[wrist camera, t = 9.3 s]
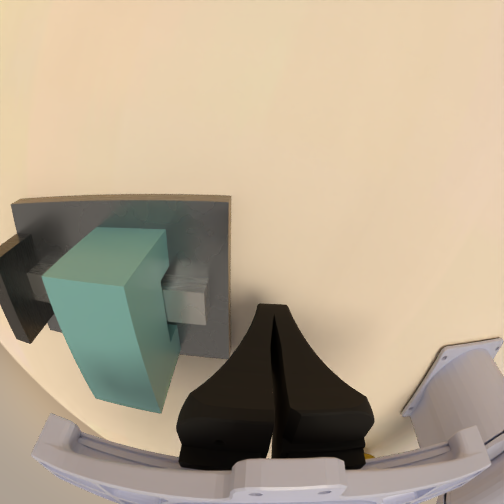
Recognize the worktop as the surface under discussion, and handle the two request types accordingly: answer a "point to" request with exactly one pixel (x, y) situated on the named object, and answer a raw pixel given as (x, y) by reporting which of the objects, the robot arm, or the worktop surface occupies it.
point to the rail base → (126, 216)
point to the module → (117, 314)
